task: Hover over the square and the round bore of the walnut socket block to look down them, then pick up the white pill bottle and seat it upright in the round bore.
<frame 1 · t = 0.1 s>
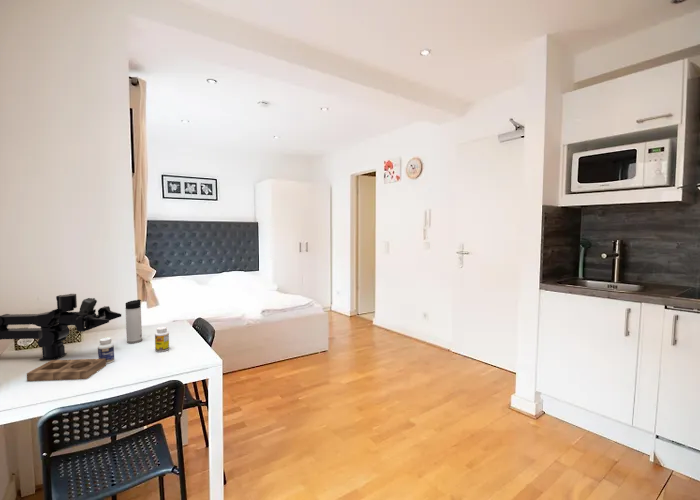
hand: (115, 318, 148), 17 cm above the table, tool horizontal, fingers open, 9 cm apart
travel mug: (134, 341, 167), on the table
pill bottle: (106, 362, 142), on the table
socket block: (68, 373, 131), on the table
supplement bottle: (162, 350, 156), on the table
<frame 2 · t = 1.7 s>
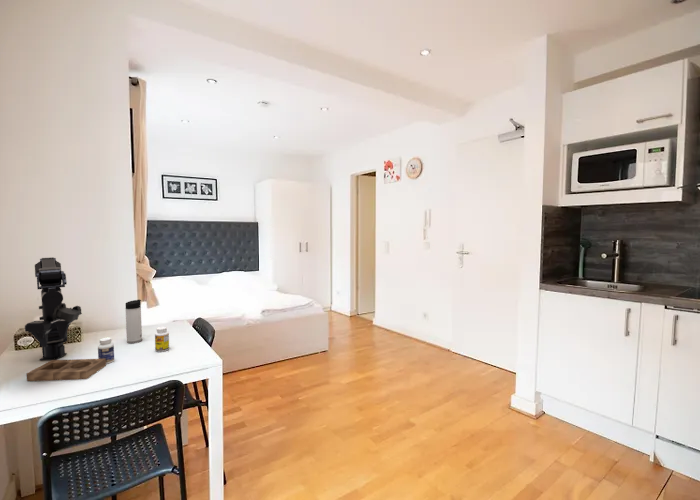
hand: (54, 342, 130), 12 cm above the table, tool pointing down, fingers open, 9 cm apart
nothing on the table moved.
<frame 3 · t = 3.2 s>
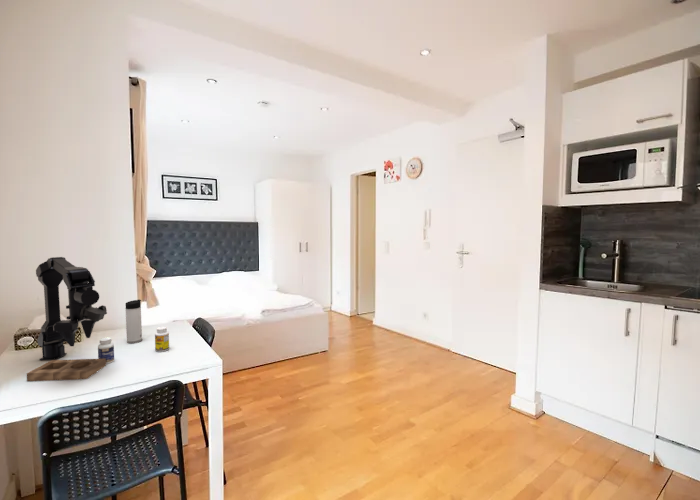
hand: (80, 341, 131), 12 cm above the table, tool pointing down, fingers open, 9 cm apart
nothing on the table moved.
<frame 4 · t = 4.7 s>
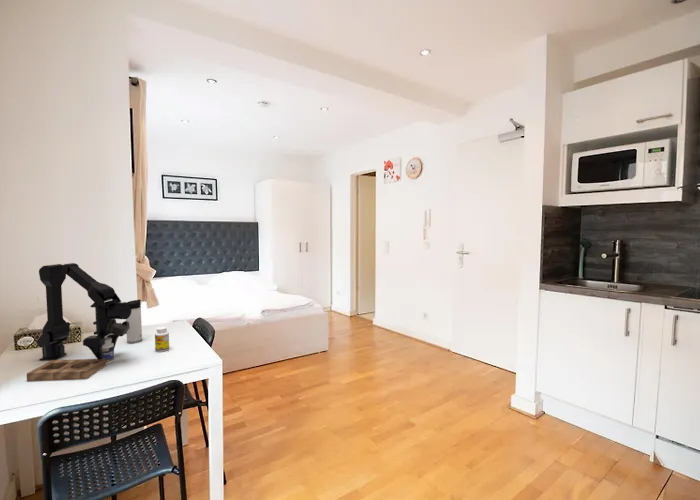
hand: (105, 355, 142), 3 cm above the table, tool pointing down, fingers open, 8 cm apart
nothing on the table moved.
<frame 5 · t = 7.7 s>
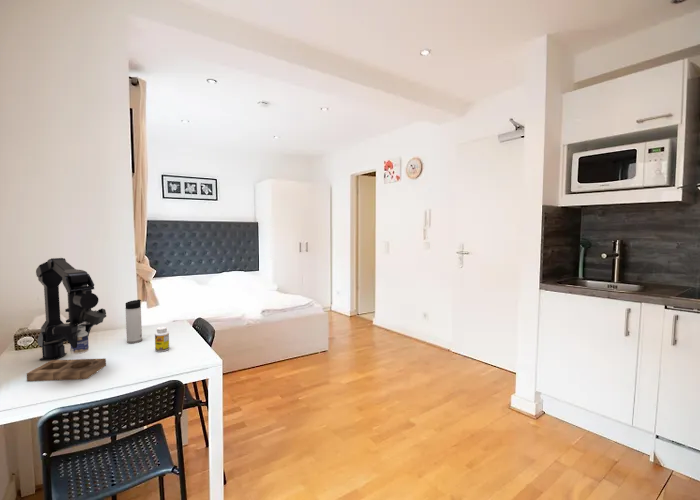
hand: (79, 345, 131), 11 cm above the table, tool pointing down, fingers closed on pill bottle, 5 cm apart
pill bottle: (80, 352, 131), point 8 cm above the table, touching gripper
everything else where it was.
when the fingers open (4 cm above the table, at t = 9.7 s): pill bottle stays where it is, resting in socket block.
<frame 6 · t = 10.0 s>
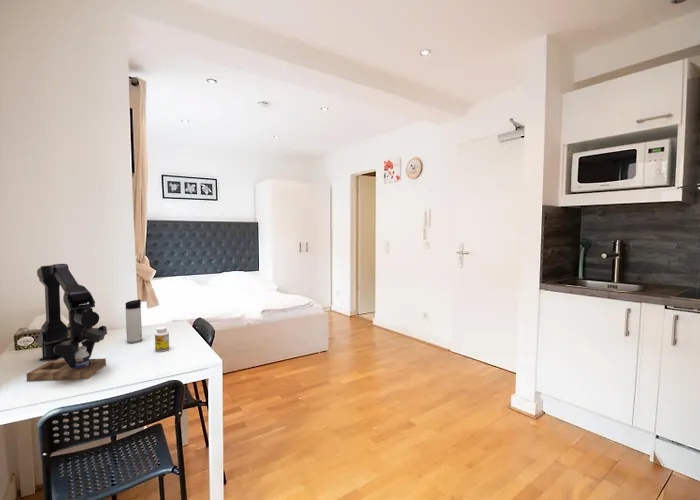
hand: (80, 362, 131), 4 cm above the table, tool pointing down, fingers open, 9 cm apart
pill bottle: (81, 373, 132), resting in socket block
everything else where it was.
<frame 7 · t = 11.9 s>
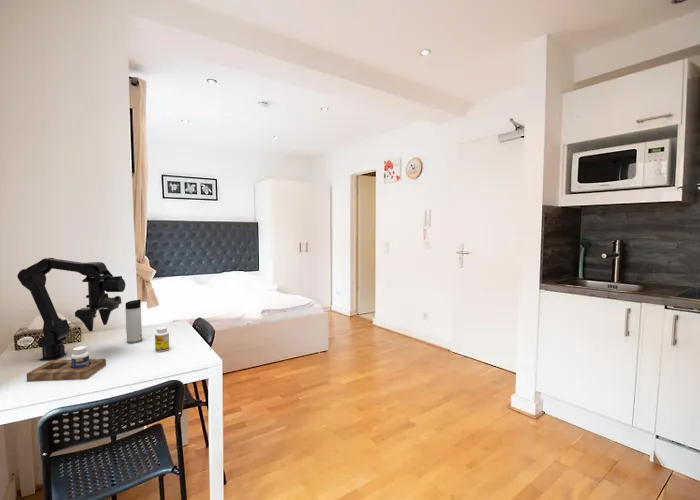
hand: (98, 328, 147), 12 cm above the table, tool pointing down, fingers open, 9 cm apart
nothing on the table moved.
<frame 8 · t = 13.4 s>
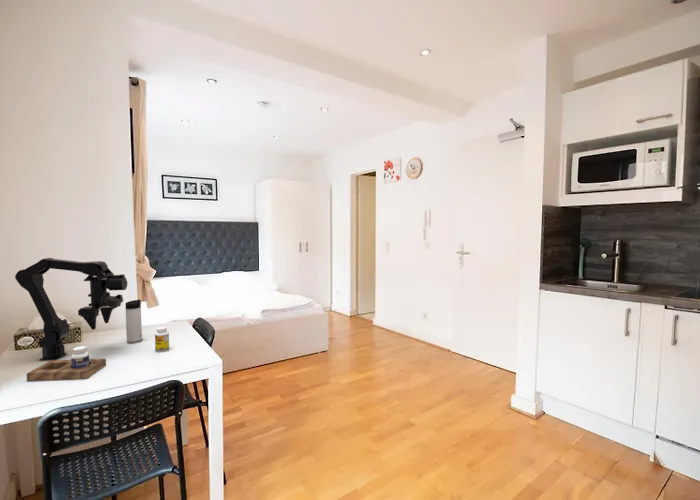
hand: (100, 326, 149), 13 cm above the table, tool pointing down, fingers open, 9 cm apart
nothing on the table moved.
at the end: pill bottle 0.1 cm from the target spot on the socket block, point 0.0 cm above the socket block's base; pill bottle tilted 0°; the gripper is holding nothing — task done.
